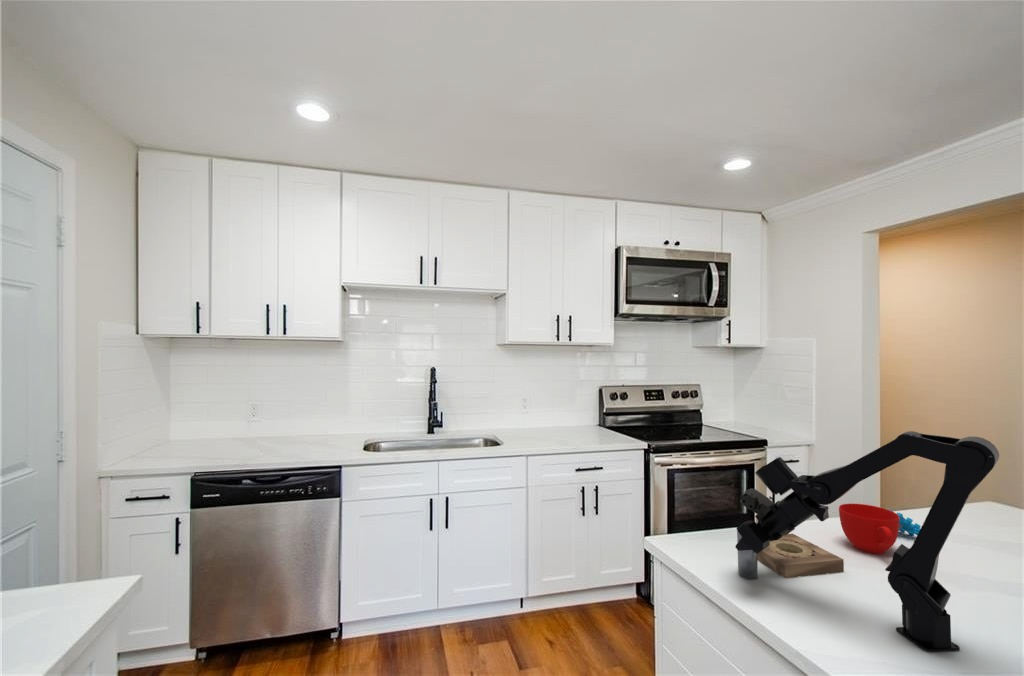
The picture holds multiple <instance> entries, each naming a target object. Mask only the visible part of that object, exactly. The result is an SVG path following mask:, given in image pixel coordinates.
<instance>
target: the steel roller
mask: <svg viewBox="0 0 1024 676" xmlns="http://www.w3.org/2000/svg"><path fill="white" fill-rule="evenodd" d="M736 537H737V540H736V541H737V543H738V542H739V540H740V539H741V538H742V536H741V535H740V534H739V532H738V531H737V530H736ZM737 543H736V544H737ZM758 562H759V561H758V560H757V553H755V552H754V551H753V550H742V551H738V550H737V574H738V576H739V577H741V578H742V579H745V580H752V581H753V580H757V579H758V578H759V572H758V571H759V569H758V567H759V565H758Z"/></svg>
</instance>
